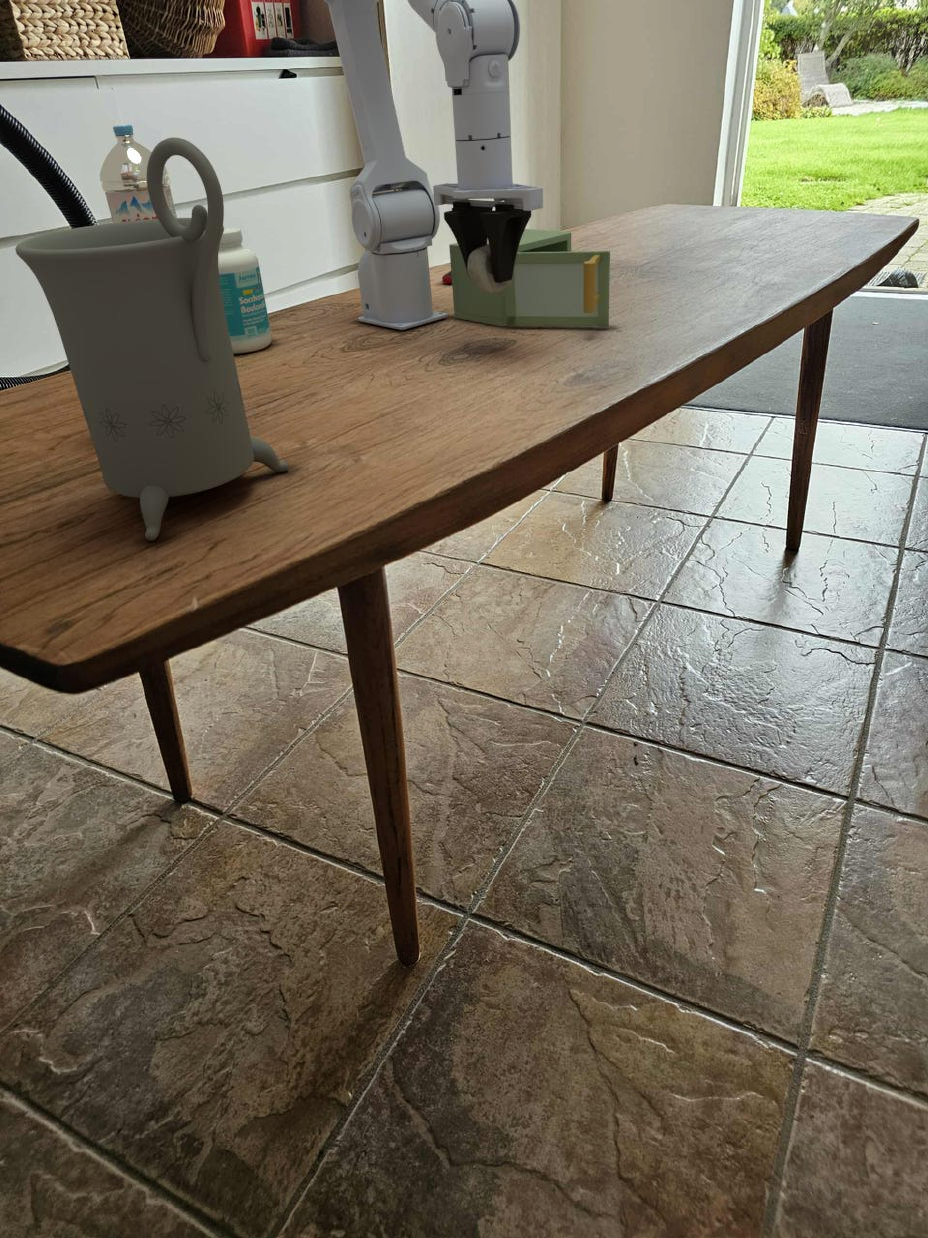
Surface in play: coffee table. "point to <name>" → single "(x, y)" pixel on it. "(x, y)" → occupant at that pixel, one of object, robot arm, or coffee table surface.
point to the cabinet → (493, 306)
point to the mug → (152, 344)
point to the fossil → (484, 271)
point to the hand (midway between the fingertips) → (490, 279)
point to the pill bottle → (242, 294)
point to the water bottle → (130, 179)
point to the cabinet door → (559, 289)
